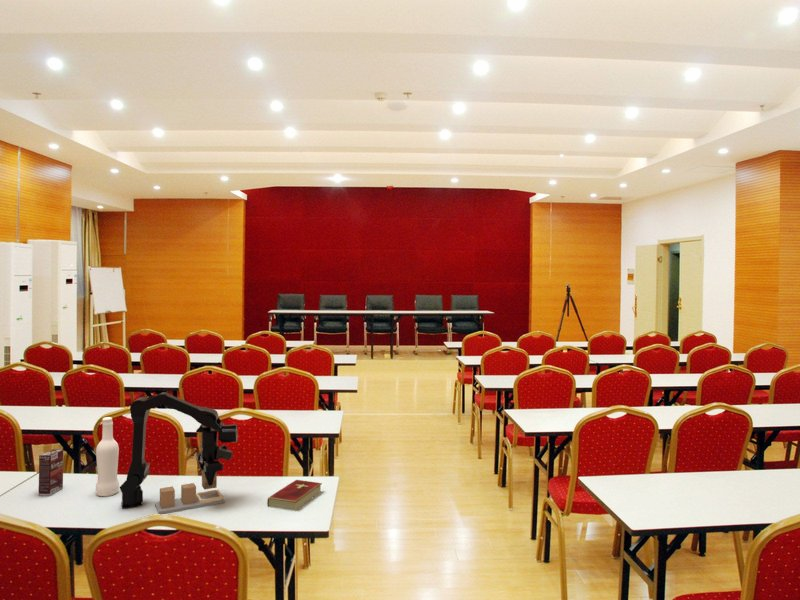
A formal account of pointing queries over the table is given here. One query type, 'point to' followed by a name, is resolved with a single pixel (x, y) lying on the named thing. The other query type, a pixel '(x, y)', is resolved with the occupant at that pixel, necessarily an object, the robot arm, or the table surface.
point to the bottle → (107, 461)
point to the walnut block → (205, 483)
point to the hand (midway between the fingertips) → (209, 483)
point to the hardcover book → (294, 495)
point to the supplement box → (50, 472)
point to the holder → (186, 499)
